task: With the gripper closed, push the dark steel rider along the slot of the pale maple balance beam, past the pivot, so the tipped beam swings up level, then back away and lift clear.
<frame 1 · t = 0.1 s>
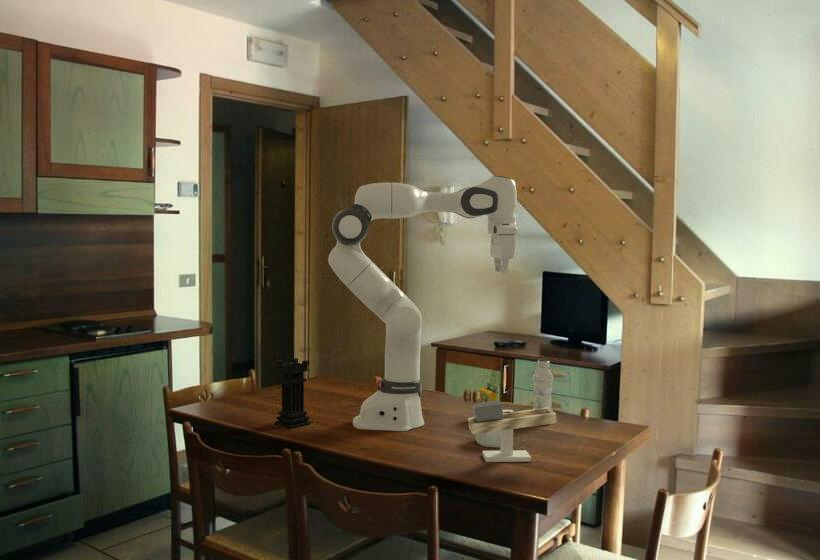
hand: (501, 272, 235), 48 cm above the table, fingers open, 8 cm apart
crayon box: (487, 421, 242), on the table
ramekin: (492, 444, 216), on the table
beam: (511, 419, 196), point 12 cm above the table, hinge at -7.5°, touching rider
rider: (489, 422, 195), point 11 cm above the table, tilted 7°, touching beam
stand: (506, 458, 202), on the table
chess piece: (292, 425, 234), on the table
plastic bottle: (542, 423, 240), on the table
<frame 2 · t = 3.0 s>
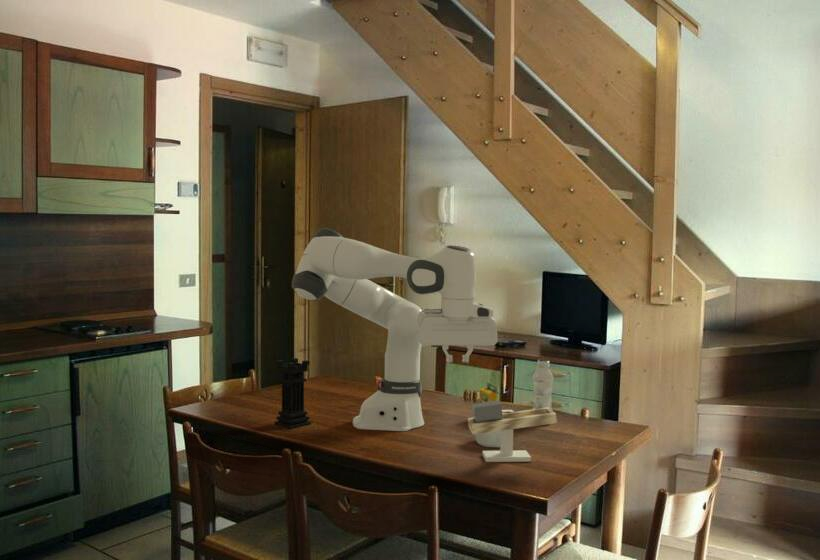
hand: (457, 362, 194), 27 cm above the table, fingers open, 3 cm apart
nothing on the table moved.
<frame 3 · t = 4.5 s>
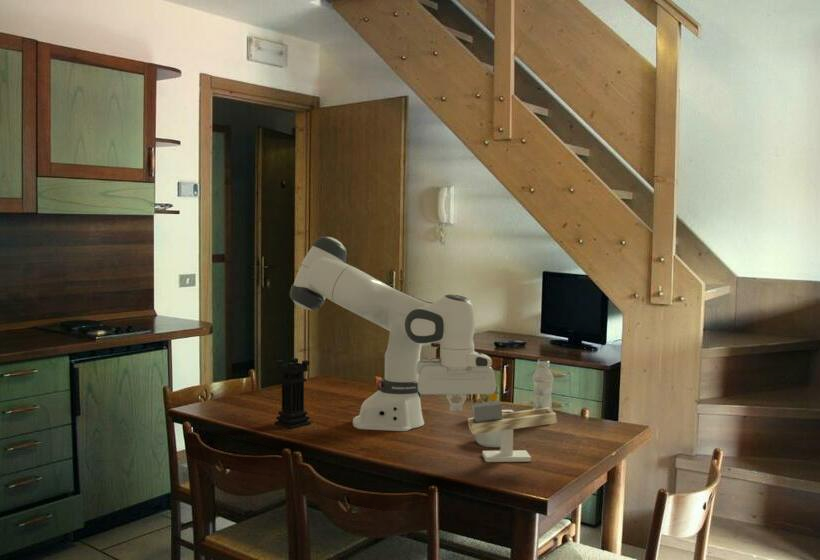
hand: (456, 410, 194), 14 cm above the table, fingers closed
nothing on the table moved.
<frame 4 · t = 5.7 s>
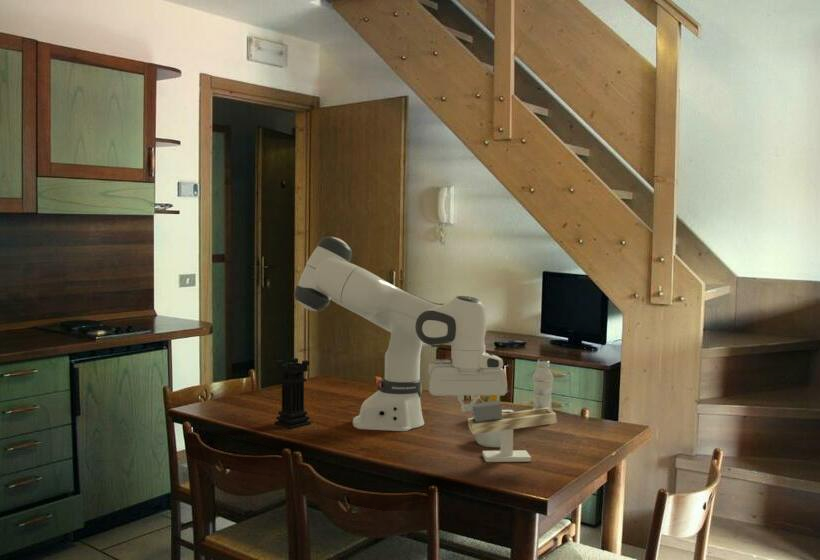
hand: (467, 412, 195), 14 cm above the table, fingers closed
rider: (488, 422, 195), point 11 cm above the table, tilted 7°, touching beam, gripper
everything else where it was.
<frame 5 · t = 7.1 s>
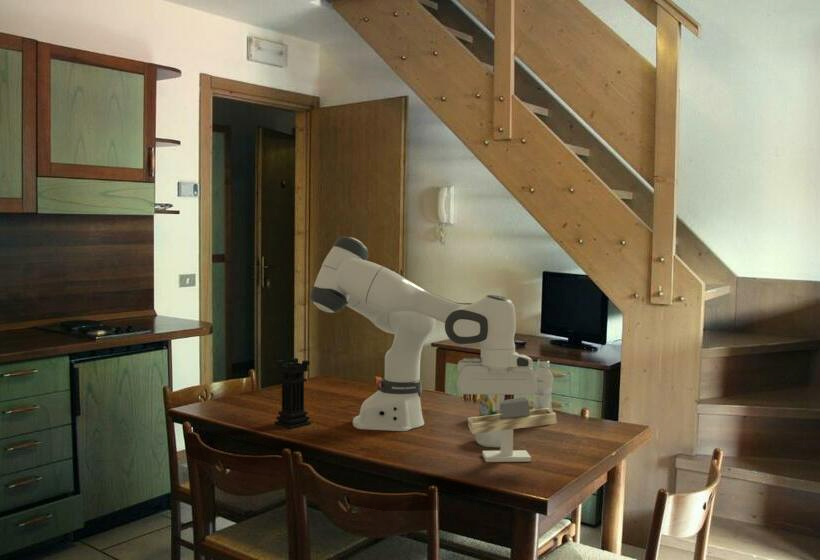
hand: (496, 411, 195), 14 cm above the table, fingers closed
beam: (511, 419, 196), point 12 cm above the table, hinge at -7.0°, touching rider
rider: (515, 419, 195), point 12 cm above the table, tilted 7°, touching beam, gripper
everything else where it was.
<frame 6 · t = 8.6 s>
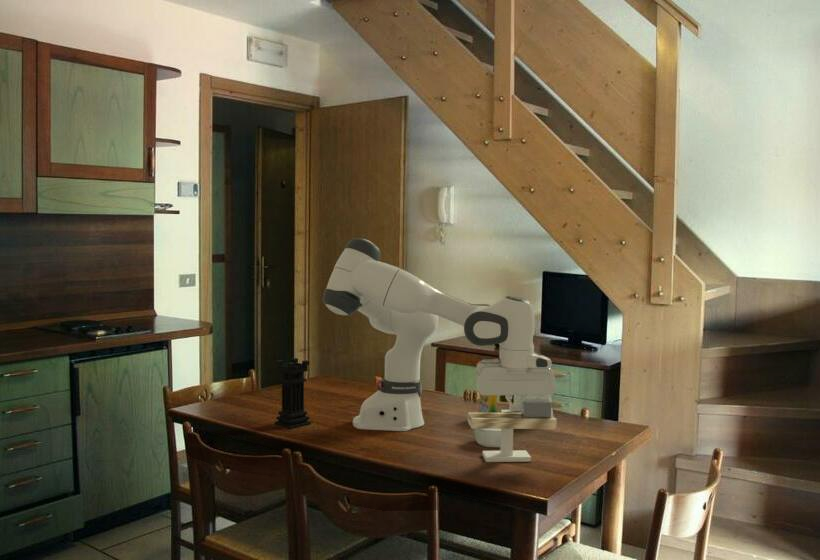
hand: (515, 411, 196), 14 cm above the table, fingers closed
beam: (511, 419, 196), point 12 cm above the table, hinge at 0.6°, touching rider
rider: (535, 419, 196), point 12 cm above the table, touching beam, gripper
everything else where it was.
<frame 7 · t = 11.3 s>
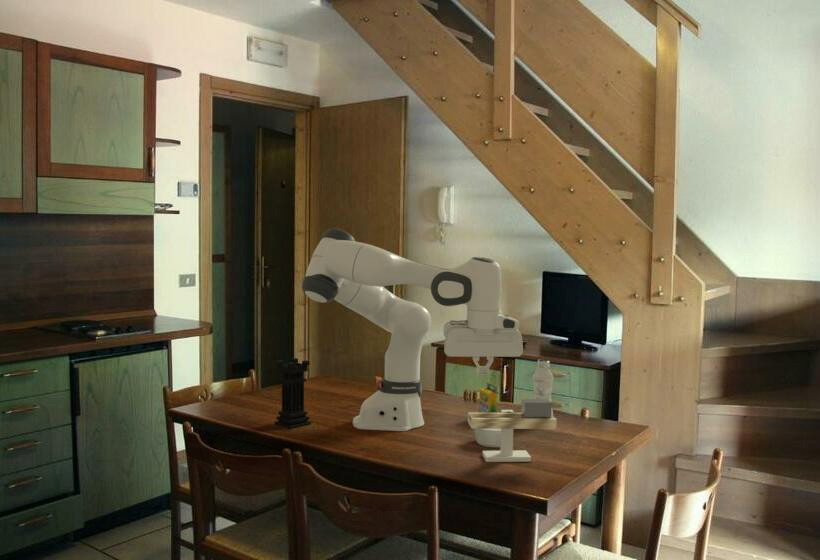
hand: (482, 373, 194), 24 cm above the table, fingers closed
rider: (535, 419, 196), point 12 cm above the table, touching beam
everything else where it was.
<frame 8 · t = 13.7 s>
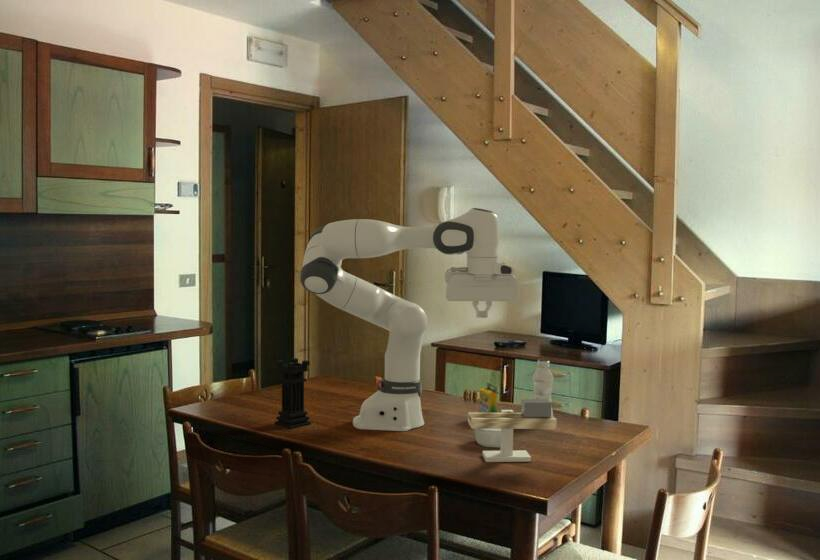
hand: (481, 317, 207), 37 cm above the table, fingers closed
nothing on the table moved.
at the end: beam at +1° (first picture: -7°); rider inside the target area on the beam (0.9 cm from its centre), point 0.0 cm above the beam's base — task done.
